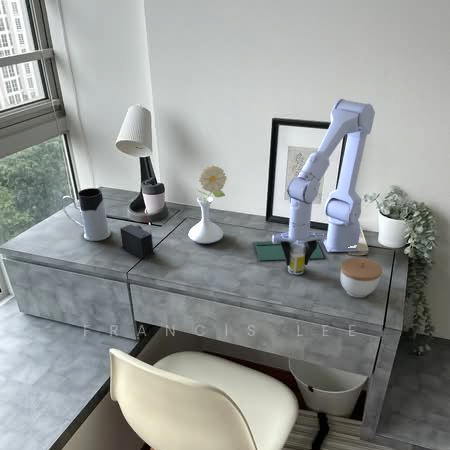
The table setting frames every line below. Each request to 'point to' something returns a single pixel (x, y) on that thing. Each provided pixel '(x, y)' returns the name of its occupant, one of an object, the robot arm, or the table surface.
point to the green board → (279, 251)
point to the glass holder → (91, 214)
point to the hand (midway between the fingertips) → (296, 263)
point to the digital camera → (137, 240)
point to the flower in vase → (206, 229)
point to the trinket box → (360, 276)
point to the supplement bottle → (297, 258)
